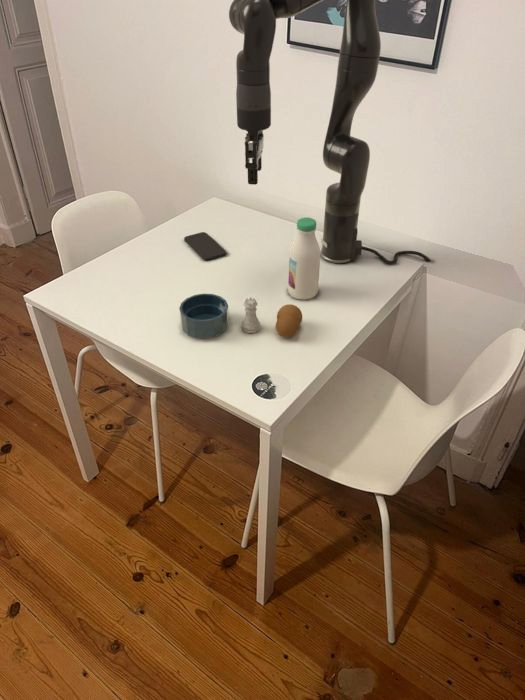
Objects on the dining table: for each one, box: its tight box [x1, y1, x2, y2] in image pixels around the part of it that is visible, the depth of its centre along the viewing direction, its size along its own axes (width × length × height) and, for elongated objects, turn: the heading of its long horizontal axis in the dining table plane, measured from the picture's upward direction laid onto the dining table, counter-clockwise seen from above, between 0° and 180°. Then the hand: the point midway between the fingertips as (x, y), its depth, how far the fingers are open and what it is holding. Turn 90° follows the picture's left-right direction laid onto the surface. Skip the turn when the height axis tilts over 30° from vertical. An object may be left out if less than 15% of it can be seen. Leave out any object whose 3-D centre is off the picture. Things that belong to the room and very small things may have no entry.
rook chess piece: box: [241, 297, 261, 334], centre depth 124 cm, size 4×4×8 cm
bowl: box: [178, 293, 230, 339], centre depth 125 cm, size 11×11×6 cm
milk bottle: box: [287, 217, 321, 300], centre depth 132 cm, size 8×8×20 cm
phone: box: [183, 231, 227, 261], centre depth 157 cm, size 7×1×15 cm
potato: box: [275, 303, 303, 339], centre depth 123 cm, size 6×9×6 cm
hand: (254, 176), depth 126 cm, fingers open, 8 cm apart
